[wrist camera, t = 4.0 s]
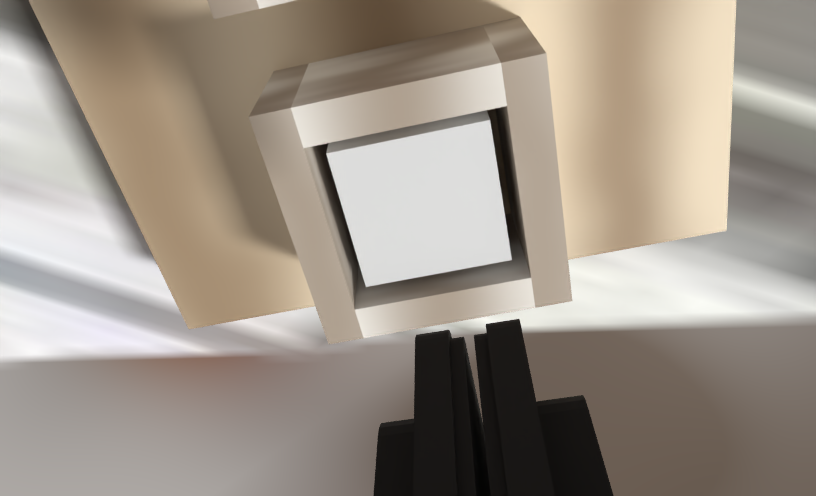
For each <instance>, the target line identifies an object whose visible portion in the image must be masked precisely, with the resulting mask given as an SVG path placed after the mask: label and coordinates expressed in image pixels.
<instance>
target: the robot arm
mask: <svg viewBox="0 0 816 496" xmlns="http://www.w3.org/2000/svg"><path fill="white" fill-rule="evenodd" d="M486 330H487V333H485V334H479V335H474V341H475V350H476V360H477V369H478V379H479V389H480V398H481V408H482V417H483V422H482V418H481V413H480V408H479V404H478V399H477V394H476V390H475V385H474V380H473V376H472V371H471V367H470V362H469V357H468V353H467V348H466V343H465V339H464V337H459V338H452V337H451V333H450V331H449V330H445V331H439V332H432V333H426V334H419V335H416V337H415V395H414V397H415V398H414V419H408V420H401V421H394V422H386V423H381V425H380V427H379V433H378V444H377V457H376V470H375V471H376V472H375V485H374V496H613V493H612V489H611V486H610V482H609V479H608V475H607V472H606V468H605V465H604V461H603V458H602V455H601V451H600V448H599V444H598V441H597V437H596V434H595V431H594V427H593V424H592V420H591V417H590V414H589V410H588V407H587V404H586V400H585V398H584V396H583V395H581V396H574V397H567V398H559V399H552V400H546V401H538V402H536V398H535V393H534V388H533V384H532V379H531V374H530V369H529V364H528V359H527V354H526V349H525V344H524V340H523V335H522V329H521V324H520V320H519V319H516V320H510V321H503V322H497V323H490V324H486Z"/></svg>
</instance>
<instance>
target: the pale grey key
mask: <svg viewBox="0 0 816 496" xmlns="http://www.w3.org/2000/svg"><path fill="white" fill-rule="evenodd" d="M326 155H327V158H328V162H329V165H330V168H331V172H332V175H333V178H334V182H335V185H336V188H337V192H338V195H339V198H340V202H341V205H342V208H343V212H344V215H345V218H346V222H347V225H348V228H349V232H350V235H351V238H352V242H353V245H354V248H355V252H356V255H357V259H358V262H359V265H360V269H361V272H362V275H363V279H364V282H365V285H366V287H369V286H374V285H380V284H385V283H390V282H396V281H401V280H407V279H412V278H417V277H423V276H428V275H434V274H439V273H444V272H450V271H455V270H461V269H466V268H471V267H477V266H482V265H488V264H493V263H498V262H504V261H509V260H512V257H511V251H510V245H509V238H508V232H507V225H506V219H505V212H504V206H503V200H502V193H501V187H500V180H499V174H498V167H497V161H496V155H495V148H494V142H493V135H492V129H491V123H490V118H489V115H488V112H487V110H485V111H480V112H476V113H471V114H466V115H461V116H456V117H452V118H447V119H442V120H437V121H432V122H427V123H423V124H418V125H413V126H408V127H403V128H399V129H394V130H389V131H384V132H379V133H374V134H370V135H365V136H360V137H355V138H350V139H346V140H341V141H336V142H331V143H328V148H327V152H326Z"/></svg>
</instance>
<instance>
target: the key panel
mask: <svg viewBox="0 0 816 496" xmlns="http://www.w3.org/2000/svg"><path fill="white" fill-rule="evenodd" d="M29 2H30V4H31V6H32V8H33V11H34V13H35V15H36V17H37V19H38V21H39V23H40V25H41V27H42V29H43V31H44V33H45V35H46V37H47V39H48V41H49V43H50V45H51V47H52V50H53V52H54V54H55V56H56V58H57V60H58V62H59V64H60V66H61V68H62V70H63V72H64V74H65V76H66V78H67V80H68V82H69V84H70V86H71V88H72V91H73V93H74V95H75V97H76V99H77V101H78V103H79V105H80V107H81V109H82V111H83V113H84V115H85V117H86V119H87V121H88V123H89V125H90V127H91V129H92V132H93V134H94V136H95V138H96V140H97V142H98V144H99V146H100V148H101V150H102V152H103V154H104V156H105V158H106V160H107V162H108V164H109V166H110V168H111V170H112V173H113V175H114V177H115V179H116V181H117V183H118V185H119V187H120V189H121V191H122V193H123V195H124V197H125V199H126V201H127V203H128V205H129V207H130V209H131V212H132V214H133V216H134V218H135V220H136V222H137V224H138V226H139V228H140V230H141V232H142V234H143V236H144V238H145V240H146V242H147V244H148V246H149V248H150V250H151V253H152V255H153V257H154V259H155V261H156V263H157V265H158V267H159V269H160V271H161V273H162V275H163V277H164V279H165V281H166V283H167V285H168V287H169V289H170V291H171V294H172V296H173V298H174V300H175V302H176V304H177V306H178V308H179V310H180V312H181V314H182V316H183V318H184V320H185V322H186V324H187V326H188V328H189V329H193V328H199V327H204V326H209V325H215V324H220V323H226V322H231V321H237V320H242V319H248V318H253V317H259V316H264V315H269V314H275V313H280V312H286V311H291V310H297V309H302V308H308V307H313V306H316V309H317V312H318V315H319V318H320V321H321V323H322V326H323V329H324V332H325V335H326V338H327V340H328V343H329V344H333V343H339V342H344V341H350V340H356V339H361V338H367V337H373V336H378V335H384V334H390V333H395V332H401V331H406V330H412V329H418V328H423V327H429V326H435V325H440V324H446V323H452V322H457V321H463V320H468V319H474V318H480V317H485V316H491V315H497V314H502V313H508V312H513V311H519V310H525V309H530V308H536V307H542V306H547V305H553V304H559V303H564V302H570V301H572V294H571V285H570V275H569V265H568V260H569V259H574V258H580V257H585V256H591V255H596V254H602V253H607V252H613V251H618V250H623V249H629V248H634V247H640V246H645V245H651V244H656V243H662V242H667V241H672V240H678V239H683V238H689V237H694V236H700V235H705V234H711V233H716V232H721V231H726V229H727V205H728V182H729V158H730V135H731V111H732V88H733V65H734V41H735V18H736V0H29ZM485 110H487V112H488V115H489V118H490V123H491V129H492V135H493V142H494V148H495V155H496V161H497V167H498V174H499V180H500V187H501V193H502V200H503V206H504V212H505V219H506V225H507V232H508V238H509V245H510V251H511V257H512V260H509V261H504V262H498V263H493V264H488V265H482V266H477V267H471V268H466V269H461V270H455V271H450V272H444V273H439V274H434V275H428V276H423V277H417V278H412V279H407V280H401V281H396V282H390V283H385V284H380V285H374V286H369V287H366V285H365V282H364V279H363V275H362V272H361V269H360V265H359V262H358V259H357V255H356V252H355V248H354V245H353V242H352V238H351V235H350V232H349V228H348V225H347V222H346V218H345V215H344V212H343V208H342V205H341V202H340V198H339V195H338V192H337V188H336V185H335V182H334V178H333V175H332V172H331V168H330V165H329V162H328V158H327V155H326V152H327V148H328V143H331V142H336V141H341V140H346V139H350V138H355V137H360V136H365V135H370V134H374V133H379V132H384V131H389V130H394V129H399V128H403V127H408V126H413V125H418V124H423V123H427V122H432V121H437V120H442V119H447V118H452V117H456V116H461V115H466V114H471V113H476V112H480V111H485Z"/></svg>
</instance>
